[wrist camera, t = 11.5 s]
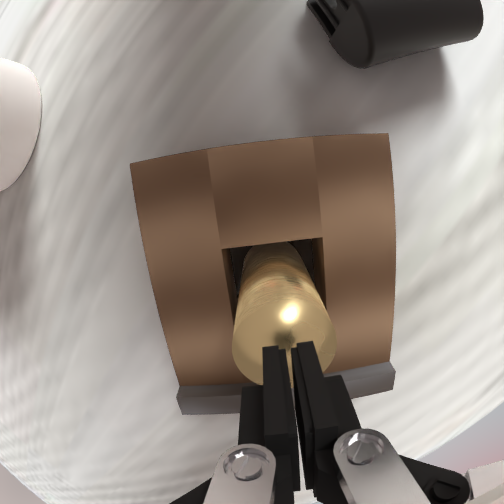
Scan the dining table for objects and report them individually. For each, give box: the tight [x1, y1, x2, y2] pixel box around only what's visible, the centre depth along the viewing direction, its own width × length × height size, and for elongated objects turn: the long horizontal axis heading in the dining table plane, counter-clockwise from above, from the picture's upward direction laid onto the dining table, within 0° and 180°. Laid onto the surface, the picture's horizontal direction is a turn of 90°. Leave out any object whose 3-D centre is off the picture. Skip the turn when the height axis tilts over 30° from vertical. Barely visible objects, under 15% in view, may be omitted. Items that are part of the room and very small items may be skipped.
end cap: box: [307, 0, 483, 68], centre depth 13 cm, size 10×7×7 cm
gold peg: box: [232, 241, 337, 388], centre depth 16 cm, size 4×4×10 cm
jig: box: [130, 133, 396, 415], centre depth 18 cm, size 16×14×5 cm
